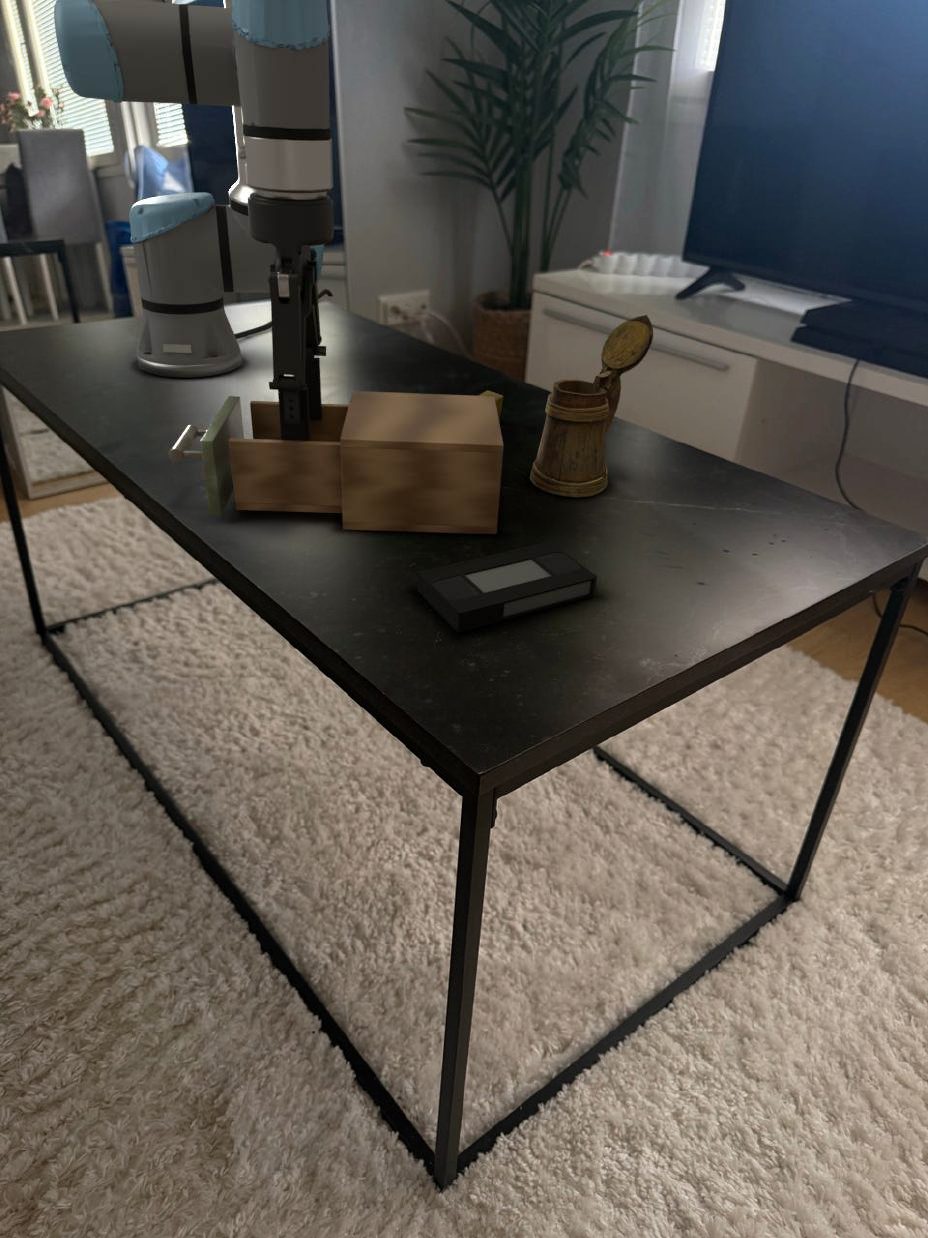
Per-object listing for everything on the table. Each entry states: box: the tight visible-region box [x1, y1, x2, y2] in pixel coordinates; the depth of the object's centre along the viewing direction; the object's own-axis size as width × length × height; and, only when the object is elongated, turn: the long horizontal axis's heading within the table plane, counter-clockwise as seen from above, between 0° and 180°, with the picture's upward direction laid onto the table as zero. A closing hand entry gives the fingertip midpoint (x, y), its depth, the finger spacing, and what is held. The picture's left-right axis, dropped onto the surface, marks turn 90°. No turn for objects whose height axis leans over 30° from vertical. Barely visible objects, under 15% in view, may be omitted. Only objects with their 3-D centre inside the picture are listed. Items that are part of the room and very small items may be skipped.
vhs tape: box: [417, 541, 598, 633], centre depth 75 cm, size 8×14×2 cm, turn 120°
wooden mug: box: [529, 314, 654, 498], centre depth 94 cm, size 9×14×18 cm, turn 126°
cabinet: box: [340, 390, 505, 535], centre depth 88 cm, size 16×15×10 cm
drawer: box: [168, 395, 349, 516], centre depth 88 cm, size 19×13×8 cm
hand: (303, 434), depth 86 cm, fingers open, 9 cm apart
